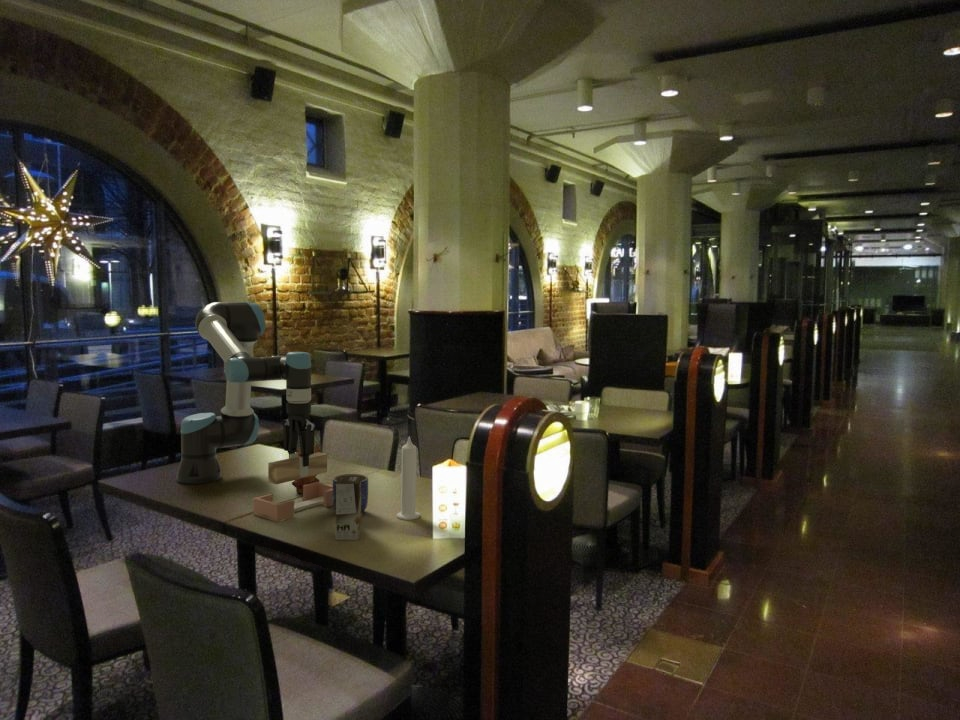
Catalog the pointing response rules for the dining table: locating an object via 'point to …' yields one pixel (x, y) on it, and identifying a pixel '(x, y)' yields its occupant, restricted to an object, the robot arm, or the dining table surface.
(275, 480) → the tan wooden beam
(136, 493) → the dining table surface
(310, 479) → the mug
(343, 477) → the coffee box
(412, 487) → the candle
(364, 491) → the planter
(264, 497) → the endcap rail
